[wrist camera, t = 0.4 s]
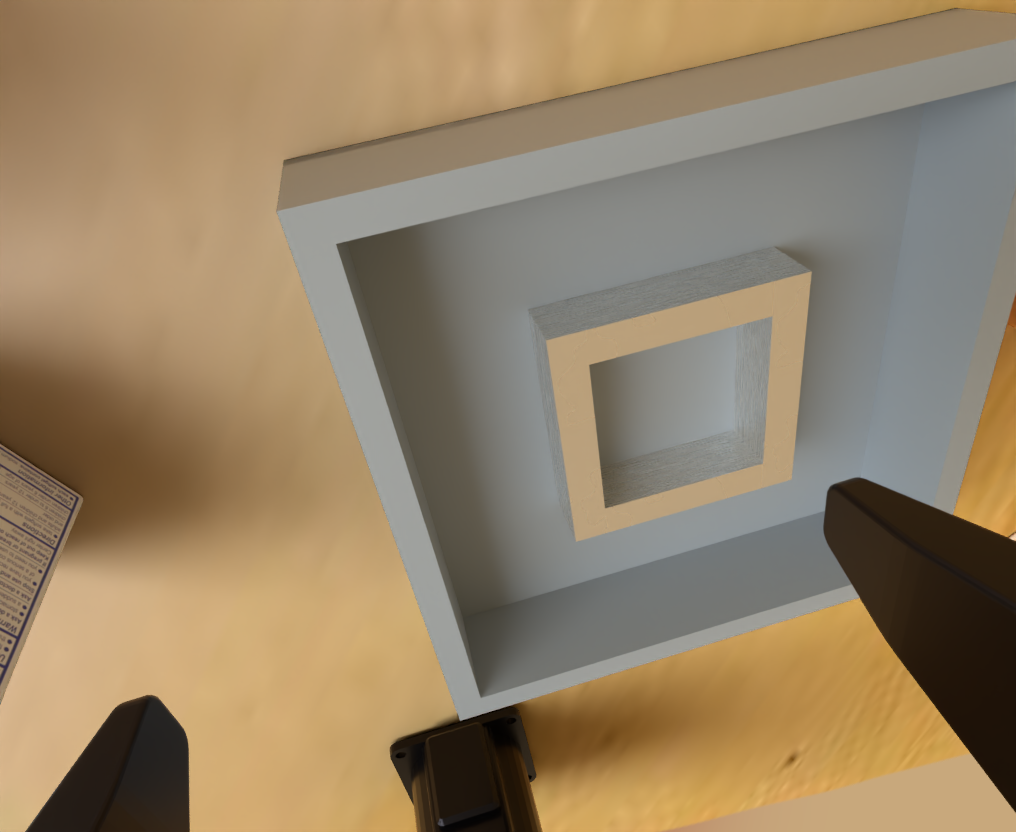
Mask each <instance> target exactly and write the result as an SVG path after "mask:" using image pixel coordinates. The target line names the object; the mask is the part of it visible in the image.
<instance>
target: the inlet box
mask: <svg viewBox="0 0 1016 832" xmlns="http://www.w3.org/2000/svg"><path fill="white" fill-rule="evenodd" d="M277 214H278V217H279V220H280V222H281V225H282V228H283V231H284V233H285V236H286V239H287V242H288V245H289V247H290V250H291V253H292V256H293V258H294V261H295V264H296V267H297V269H298V272H299V275H300V278H301V281H302V283H303V286H304V289H305V292H306V294H307V297H308V300H309V303H310V306H311V308H312V311H313V314H314V317H315V319H316V322H317V325H318V328H319V331H320V333H321V336H322V339H323V342H324V344H325V347H326V350H327V353H328V356H329V358H330V361H331V364H332V367H333V369H334V372H335V375H336V378H337V380H338V383H339V386H340V389H341V392H342V394H343V397H344V400H345V403H346V405H347V408H348V411H349V414H350V417H351V419H352V422H353V425H354V428H355V430H356V433H357V436H358V439H359V442H360V444H361V447H362V450H363V453H364V455H365V458H366V461H367V464H368V467H369V469H370V472H371V475H372V478H373V480H374V483H375V486H376V489H377V492H378V494H379V497H380V500H381V503H382V505H383V508H384V511H385V514H386V516H387V519H388V522H389V525H390V528H391V530H392V533H393V536H394V539H395V541H396V544H397V547H398V550H399V553H400V555H401V558H402V561H403V564H404V566H405V569H406V572H407V575H408V578H409V580H410V583H411V586H412V589H413V591H414V594H415V597H416V600H417V603H418V605H419V608H420V611H421V614H422V616H423V619H424V622H425V625H426V627H427V630H428V633H429V636H430V639H431V641H432V644H433V647H434V650H435V652H436V655H437V658H438V661H439V664H440V666H441V669H442V672H443V675H444V677H445V680H446V683H447V686H448V689H449V691H450V694H451V697H452V700H453V702H454V705H455V708H456V711H457V714H458V716H459V719H460V721H462V720H465V719H468V718H471V717H474V716H478V715H481V714H484V713H487V712H491V711H494V710H497V709H500V708H504V707H507V706H510V705H513V704H517V703H520V702H523V701H526V700H530V699H533V698H536V697H539V696H543V695H546V694H549V693H552V692H555V691H559V690H562V689H565V688H568V687H572V686H575V685H578V684H581V683H585V682H588V681H591V680H594V679H598V678H601V677H604V676H607V675H611V674H614V673H617V672H620V671H623V670H627V669H630V668H633V667H636V666H640V665H643V664H646V663H649V662H653V661H656V660H659V659H662V658H666V657H669V656H672V655H675V654H679V653H682V652H685V651H688V650H692V649H695V648H698V647H701V646H704V645H708V644H711V643H714V642H717V641H721V640H724V639H727V638H730V637H734V636H737V635H740V634H743V633H747V632H750V631H753V630H756V629H760V628H763V627H766V626H769V625H772V624H776V623H779V622H782V621H785V620H789V619H792V618H795V617H798V616H802V615H805V614H808V613H811V612H815V611H818V610H821V609H824V608H828V607H831V606H834V605H837V604H840V603H844V602H847V601H850V600H853V599H857V598H860V597H859V596H858V594H857V592H856V591H855V589H854V587H853V586H852V584H851V582H850V581H849V579H848V578H847V576H846V574H845V573H844V571H843V569H842V568H841V566H840V564H839V563H838V561H837V559H836V558H835V556H834V554H833V553H832V551H831V549H830V548H829V546H828V544H827V542H826V539H825V536H824V531H823V523H824V514H825V505H826V496H827V490H828V489H829V487H830V486H831V485H833V484H835V483H838V482H841V481H845V480H848V479H851V478H855V477H860V478H864V479H867V480H870V481H872V482H875V483H877V484H879V485H882V486H884V487H887V488H889V489H892V490H894V491H896V492H899V493H901V494H904V495H906V496H908V497H911V498H913V499H916V500H918V501H921V502H923V503H925V504H928V505H930V506H933V507H935V508H937V509H940V510H942V511H945V512H947V513H949V514H952V515H953V512H954V509H955V505H956V502H957V498H958V495H959V491H960V488H961V484H962V481H963V477H964V474H965V470H966V467H967V463H968V460H969V456H970V452H971V449H972V445H973V442H974V438H975V435H976V431H977V428H978V424H979V421H980V417H981V414H982V410H983V407H984V403H985V400H986V396H987V393H988V389H989V386H990V382H991V378H992V375H993V371H994V368H995V364H996V361H997V357H998V354H999V350H1000V347H1001V343H1002V340H1003V336H1004V333H1005V329H1006V326H1007V322H1008V319H1009V315H1010V312H1011V308H1012V304H1013V301H1014V297H1015V294H1016V14H1013V13H1003V12H992V11H981V10H970V9H959V8H954V9H950V10H946V11H941V12H937V13H932V14H928V15H924V16H919V17H915V18H910V19H906V20H902V21H897V22H893V23H888V24H884V25H879V26H875V27H871V28H866V29H862V30H857V31H853V32H849V33H844V34H840V35H835V36H831V37H827V38H822V39H818V40H813V41H809V42H804V43H800V44H796V45H791V46H787V47H782V48H778V49H774V50H769V51H765V52H760V53H756V54H752V55H747V56H743V57H738V58H734V59H729V60H725V61H721V62H716V63H712V64H707V65H703V66H699V67H694V68H690V69H685V70H681V71H677V72H672V73H668V74H663V75H659V76H655V77H650V78H646V79H641V80H637V81H632V82H628V83H624V84H619V85H615V86H610V87H606V88H602V89H597V90H593V91H588V92H584V93H580V94H575V95H571V96H566V97H562V98H557V99H553V100H549V101H544V102H540V103H535V104H531V105H527V106H522V107H518V108H513V109H509V110H505V111H500V112H496V113H491V114H487V115H482V116H478V117H474V118H469V119H465V120H460V121H456V122H452V123H447V124H443V125H438V126H434V127H430V128H425V129H421V130H416V131H412V132H407V133H403V134H399V135H394V136H390V137H385V138H381V139H377V140H372V141H368V142H363V143H359V144H355V145H350V146H346V147H341V148H337V149H333V150H328V151H324V152H319V153H315V154H310V155H306V156H302V157H297V158H293V159H288V160H284V163H283V170H282V177H281V184H280V191H279V198H278V205H277Z"/></svg>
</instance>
